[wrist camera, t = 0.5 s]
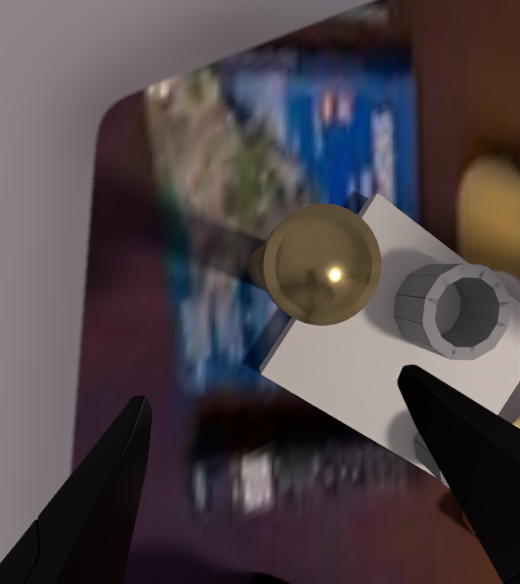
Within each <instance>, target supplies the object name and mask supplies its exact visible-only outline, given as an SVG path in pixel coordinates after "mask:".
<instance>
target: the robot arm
mask: <svg viewBox="0 0 520 584" xmlns="http://www.w3.org/2000/svg"><path fill="white" fill-rule="evenodd" d="M397 385H398V388H399V390H400V393H401V395H402V397H403V399H404V402H405V404H406V406H407V408H408V411H409V413H410V415H411V417H412V420H413V422H414V424H415V426H416V428H417V430H418V432H419V434H420V435H421V437H422V439H423V441H424V443H425V444H426V446H427V448H428V450H429V452H430V453H431V455H432V457H433V459H434V460H435V462H436V464H437V466H438V468H439V469H440V471H441V473H442V475H443V477H444V478H445V480H446V482H447V484H448V486H449V487H450V489H451V491H452V493H453V494H454V496H455V498H456V500H457V502H458V503H459V505H460V507H461V509H462V511H463V512H464V514H465V516H466V518H467V519H468V521H469V523H470V525H471V527H472V528H473V530H474V532H475V534H476V536H477V537H478V539H479V541H480V543H481V544H482V546H483V548H484V550H485V552H486V553H487V555H488V557H489V559H490V561H491V562H492V564H493V566H494V568H495V570H496V571H497V573H498V575H499V577H500V578H501V580H502V581H503V584H520V429H519V428H517V427H516V426H514V425H513V424H511V423H509V422H508V421H506V420H504V419H503V418H501V417H500V416H498V415H497V414H495V413H493V412H492V411H490V410H488V409H487V408H485V407H484V406H482V405H480V404H479V403H477V402H476V401H474V400H472V399H471V398H469V397H467V396H466V395H464V394H463V393H461V392H459V391H458V390H456V389H455V388H453V387H451V386H450V385H448V384H447V383H445V382H443V381H442V380H440V379H438V378H437V377H435V376H434V375H432V374H430V373H429V372H427V371H426V370H424V369H422V368H421V367H419V366H417V365H415V364H411V365H404V366H403V367H402V369H401V372H400V374H399V377H398V379H397ZM151 423H152V410H151V407H150V404H149V401H148V398H147V397H146V396H145V395H143V396H135V397H132V398H131V399H130V400H129V402H128V403H127V404H126V406H125V407H124V408H123V409H122V411H121V412H120V413H119V414H118V416H117V417H116V418H115V419H114V421H113V422H112V423H111V425H110V426H109V427H108V428H107V430H106V431H105V432H104V433H103V435H102V436H101V437H100V438H99V440H98V441H97V442H96V444H95V445H94V446H93V447H92V449H91V450H90V451H89V452H88V454H87V455H86V456H85V457H84V459H83V460H82V461H81V463H80V464H79V465H78V466H77V468H76V469H75V470H74V471H73V473H72V474H71V475H70V476H69V478H68V479H67V480H66V482H65V483H64V484H63V485H62V487H61V488H60V489H59V491H58V492H57V493H56V494H55V496H54V497H53V498H52V499H51V501H50V502H49V503H48V504H47V506H46V507H45V508H44V509H43V511H42V512H41V513H40V515H39V516H38V520H35V521H34V522H33V523H32V524H31V526H30V527H29V528H28V530H27V531H26V532H25V533H24V535H23V536H22V537H21V538H20V540H19V541H18V542H17V543H16V545H15V546H14V547H13V548H12V549H11V551H10V552H9V553H8V554H7V555H6V557H5V558H4V559H3V560H2V562H1V563H0V584H122V583H123V578H124V573H125V568H126V564H127V559H128V554H129V550H130V545H131V540H132V535H133V531H134V526H135V521H136V516H137V512H138V507H139V502H140V498H141V493H142V488H143V483H144V479H145V474H146V468H147V461H148V452H149V442H150V432H151ZM252 584H280V583H277V582H275V581H273V580H271V579H268V578H266V577H264V576H261V575H259V576H257V577H256V578H255V579H254V581H253V582H252Z"/></svg>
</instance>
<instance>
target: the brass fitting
mask: <svg viewBox="0 0 520 584" xmlns="http://www.w3.org/2000/svg"><path fill="white" fill-rule="evenodd" d="M248 274H249V277H250V279H251V281H252V282H253V283H254V284H255V285H256V286H257V287H259V288H260V289H262V290H264V291H266V292H267V293H268V295H269V296H270V298H271V299H272V301H273V302H274V303H275V304H276V305H277V306H278V307H279V308H280V309H281V310H283V311H284V312H286V313H287V314H288V315H290V316H291V317H293V318H295V319H296V320H298V321H301V322H303V323H306V324H310V325H317V326H328V325H334V324H338V323H341V322H344V321H346V320H348V319H350V318H351V317H353V316H355V315H356V314H357V313H358V312H360V311H361V310H362V309H363V308H364V307H365V306H366V305H367V303H368V302H369V301H370V299H371V298H372V296H373V294H374V293H375V291H376V288H377V286H378V283H379V279H380V274H381V253H380V248H379V245H378V242H377V239H376V237H375V235H374V233H373V231H372V230H371V228H370V227H369V226H368V224H367V223H366V222H365V221H364V220H363V219H362V218H361V217H359V216H358V215H357V214H355V213H354V212H352V211H351V210H348V209H346V208H344V207H341V206H338V205H332V204H316V205H311V206H307V207H304V208H302V209H300V210H298V211H296V212H294V213H293V214H291V215H290V216H288V217H287V218H286V219H285V220H284V221H282V222H281V223H280V224H279V225H278V226H277V227H276V228H275V229H274V230H273V232H272V233H271V234H270V236H269V237H268V239H267V241H266V243H265V244H264V245H262V246H261V247H259V248H258V249H256V250H255V251H254V252H253V253H252V255H251V256H250V258H249V261H248Z"/></svg>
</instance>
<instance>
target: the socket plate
mask: <svg viewBox="0 0 520 584" xmlns="http://www.w3.org/2000/svg"><path fill="white" fill-rule="evenodd" d="M358 216H359V217H361V218H362V219H363V220H364V221H365V222H366V223H367V224H368V226H369V227H370V228H371V230H372V231H373V233H374V235H375V237H376V239H377V242H378V245H379V248H380V253H381V274H380V279H379V283H378V286H377V288H376V291H375V293H374V294H373V296H372V298H371V299H370V301H369V302H368V303H367V305H366V306H365V307H364V308H363V309H362V310H361V311H360V312H358V313H357V314H356V315H355V316H353V317H351V318H350V319H348V320H346V321H344V322H341V323H338V324H334V325H328V326H317V325H310V324H306V323H303V322H301V321H298V320H296V319H295V318H293V317H291V319H290V320H289V322H288V324H287V325H286V327H285V328H284V330H283V331H282V333H281V334H280V336H279V338H278V339H277V341H276V342H275V344H274V345H273V347H272V348H271V350H270V352H269V353H268V355H267V356H266V358H265V359H264V361H263V362H262V364H261V366H260V367H259V369H260V372H261V375H263V376H265V377H267V378H268V379H270V380H272V381H273V382H275V383H277V384H278V385H280V386H282V387H284V388H285V389H287V390H289V391H290V392H292V393H294V394H295V395H297V396H299V397H301V398H302V399H304V400H306V401H307V402H309V403H311V404H312V405H314V406H316V407H318V408H319V409H321V410H323V411H324V412H326V413H328V414H329V415H331V416H333V417H335V418H336V419H338V420H340V421H341V422H343V423H345V424H346V425H348V426H350V427H352V428H353V429H355V430H357V431H358V432H360V433H362V434H363V435H365V436H367V437H369V438H370V439H372V440H374V441H375V442H377V443H379V444H380V445H382V446H384V447H386V448H387V449H389V450H391V451H392V452H394V453H396V454H398V455H399V456H401V457H403V458H404V459H406V460H408V461H409V462H411V463H413V464H415V465H416V466H418V467H420V468H421V469H423V470H425V471H426V472H428V473H430V474H432V475H433V476H435V477H436V478H437V479H438V480H439V481H440V482H441V483H442V484H444V485H446V486H447V487H449V486H448V484H447V482H446V480H445V478H444V477H443V475H442V473H441V471H440V469H439V468H438V466H437V464H436V462H435V460H434V459H433V457H432V455H431V453H430V452H429V450H428V448H427V446H426V444H425V443H424V441H423V439H422V437H421V435H420V434H419V432H418V430H417V428H416V426H415V424H414V422H413V420H412V417H411V415H410V413H409V411H408V408H407V406H406V404H405V402H404V399H403V397H402V395H401V393H400V390H399V388H398V385H397V379H398V377H399V374H400V372H401V369H402V367H403V366H404V365H411V364H415V365H417V366H419V367H421V368H422V369H424V370H426V371H427V372H429V373H430V374H432V375H434V376H435V377H437V378H438V379H440V380H442V381H443V382H445V383H447V384H448V385H450V386H451V387H453V388H455V389H456V390H458V391H459V392H461V393H463V394H464V395H466V396H467V397H469V398H471V399H472V400H474V401H476V402H477V403H479V404H480V405H482V406H484V407H485V408H487V409H488V410H490V411H492V412H493V413H495V414H497V415H498V414H499V412H500V410H501V409H502V407H503V406H504V404H505V403H506V401H507V400H508V398H509V397H510V395H511V393H512V392H513V390H514V389H515V387H516V386H517V384H518V383H519V381H520V303H519V302H518V301H517V300H516V299H514V298H513V297H512V296H510V295H509V294H508V291H507V288H506V286H505V283H504V280H502V278H501V277H500V276H498V275H497V274H496V273H495V272H493V271H492V270H491V269H489V268H488V267H487V266H486V265H478V264H469V263H467V262H466V261H465V260H464V259H462V258H461V257H460V256H458V255H457V254H456V253H455V252H453V251H452V250H451V249H449V248H448V247H447V246H445V245H444V244H443V243H442V242H440V241H439V240H438V239H436V238H435V237H434V236H432V235H431V234H430V233H429V232H427V231H426V230H425V229H423V228H422V227H421V226H419V225H418V224H417V223H416V222H414V221H413V220H412V219H410V218H409V217H408V216H406V215H405V214H404V213H403V212H401V211H400V210H399V209H397V208H396V207H395V206H393V205H392V204H391V203H390V202H388V201H387V200H386V199H384V198H383V197H382V196H381V195H379V194H378V193H377V194H375V195H373V196H371V197H369V198H368V199H367V201H366V202H365V204H364V205H363V207H362V209H361V210H360V212H359V213H358ZM449 488H450V487H449Z"/></svg>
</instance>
